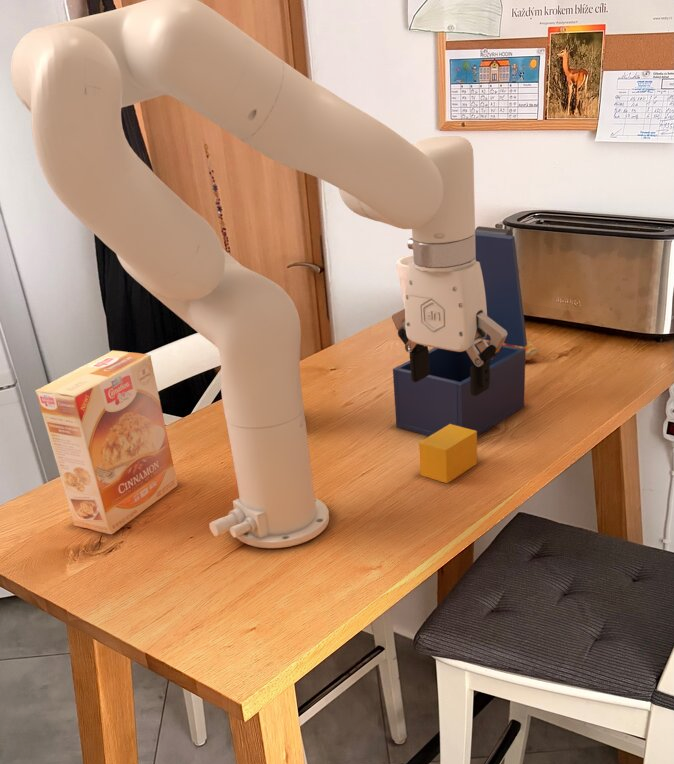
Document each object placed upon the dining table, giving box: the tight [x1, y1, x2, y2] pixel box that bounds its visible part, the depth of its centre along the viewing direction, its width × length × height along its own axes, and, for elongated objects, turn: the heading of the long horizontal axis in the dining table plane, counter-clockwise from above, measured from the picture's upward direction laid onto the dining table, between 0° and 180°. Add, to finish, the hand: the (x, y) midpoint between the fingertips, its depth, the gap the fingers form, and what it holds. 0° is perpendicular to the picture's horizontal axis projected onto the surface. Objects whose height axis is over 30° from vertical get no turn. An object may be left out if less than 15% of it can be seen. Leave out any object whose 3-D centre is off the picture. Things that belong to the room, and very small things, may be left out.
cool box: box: [392, 342, 526, 437], centre depth 138 cm, size 16×13×9 cm
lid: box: [475, 225, 528, 347], centre depth 135 cm, size 17×13×5 cm
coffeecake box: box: [35, 349, 179, 535], centre depth 121 cm, size 15×7×20 cm, turn 151°
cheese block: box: [418, 424, 478, 484], centre depth 125 cm, size 7×5×5 cm, turn 137°
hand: (449, 385), depth 120 cm, fingers open, 9 cm apart
